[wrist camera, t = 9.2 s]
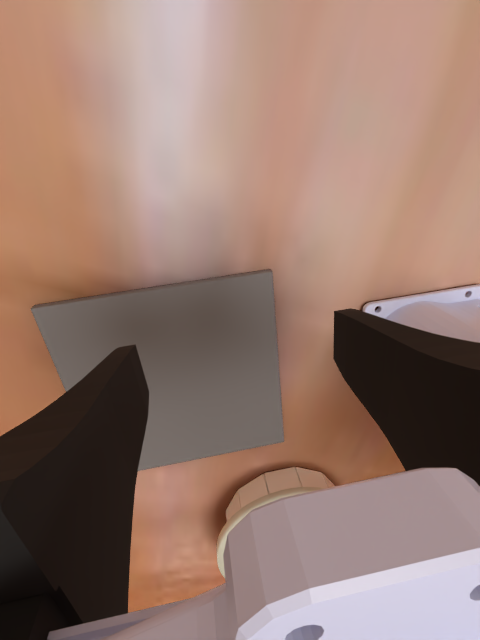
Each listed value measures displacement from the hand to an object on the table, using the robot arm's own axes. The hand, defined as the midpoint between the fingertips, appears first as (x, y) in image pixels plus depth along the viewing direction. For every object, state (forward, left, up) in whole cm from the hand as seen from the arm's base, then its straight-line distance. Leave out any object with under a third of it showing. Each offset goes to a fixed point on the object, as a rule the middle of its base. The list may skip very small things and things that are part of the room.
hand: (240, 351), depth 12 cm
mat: (+4, +8, -10) cm, 14 cm away
